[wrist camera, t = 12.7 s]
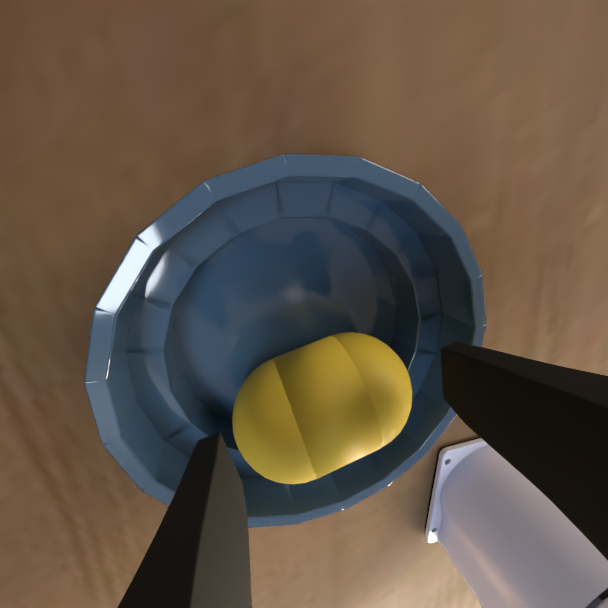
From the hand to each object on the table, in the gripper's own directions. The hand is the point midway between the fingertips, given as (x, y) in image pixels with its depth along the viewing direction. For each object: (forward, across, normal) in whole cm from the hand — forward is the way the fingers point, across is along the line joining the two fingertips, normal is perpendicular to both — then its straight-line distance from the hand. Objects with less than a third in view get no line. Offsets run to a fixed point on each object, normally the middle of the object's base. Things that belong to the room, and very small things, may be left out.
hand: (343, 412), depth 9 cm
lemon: (+3, 0, +2) cm, 4 cm away
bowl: (+7, 0, 0) cm, 7 cm away
